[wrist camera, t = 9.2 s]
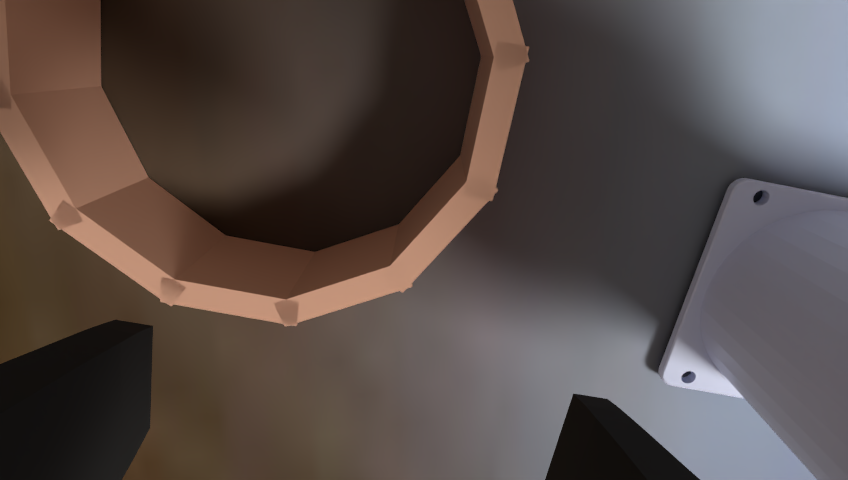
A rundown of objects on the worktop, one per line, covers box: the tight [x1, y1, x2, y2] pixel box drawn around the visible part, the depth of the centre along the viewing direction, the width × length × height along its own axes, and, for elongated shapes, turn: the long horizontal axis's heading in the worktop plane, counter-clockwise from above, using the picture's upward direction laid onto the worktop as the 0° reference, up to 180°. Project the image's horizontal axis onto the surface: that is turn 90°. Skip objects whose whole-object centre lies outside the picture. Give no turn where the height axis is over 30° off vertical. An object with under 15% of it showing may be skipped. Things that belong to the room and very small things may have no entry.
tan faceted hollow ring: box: [0, 0, 529, 327], centre depth 16 cm, size 14×14×4 cm
